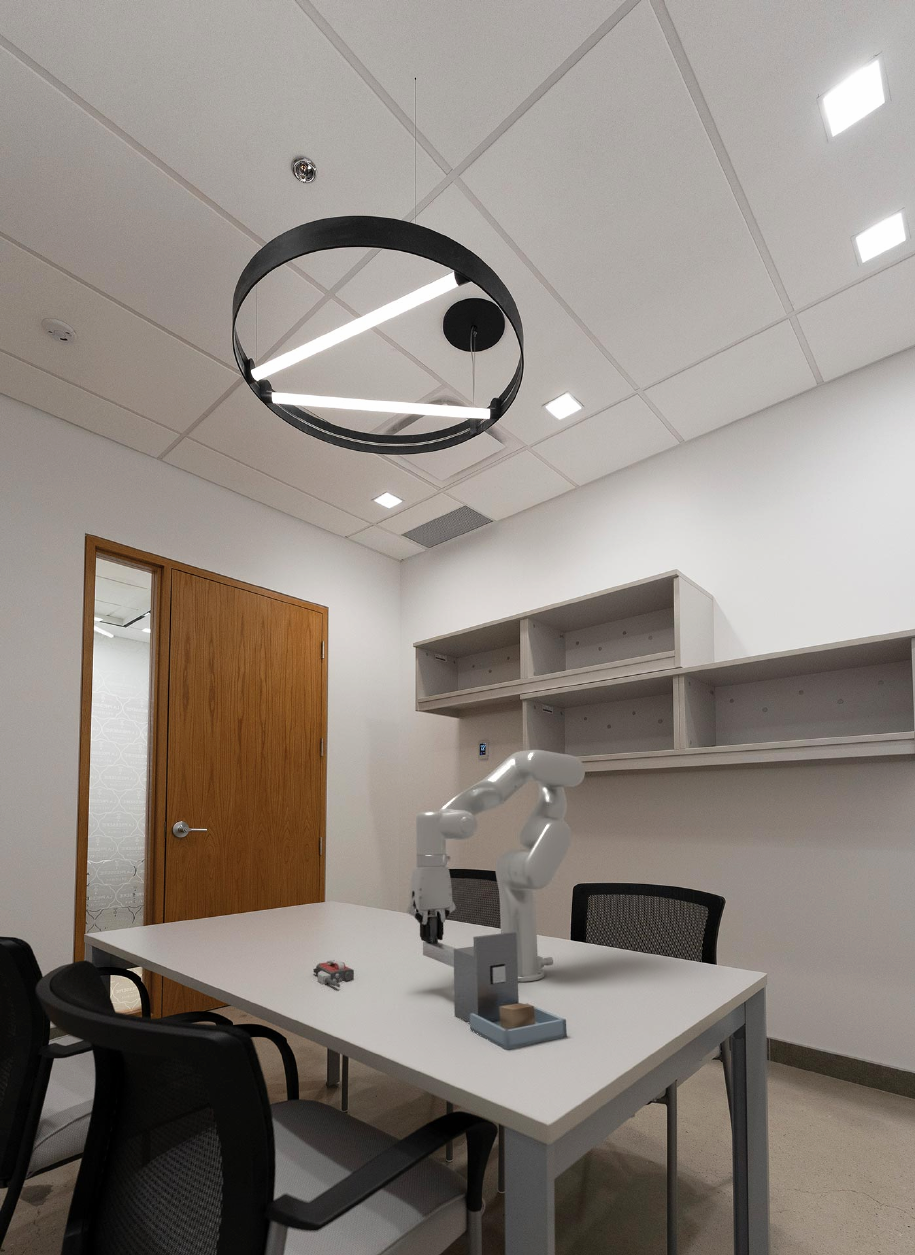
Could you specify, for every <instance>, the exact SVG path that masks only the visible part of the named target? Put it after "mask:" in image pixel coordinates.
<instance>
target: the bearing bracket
mask: <svg viewBox="0 0 915 1255" xmlns="http://www.w3.org/2000/svg"><path fill="white" fill-rule="evenodd" d="M472 939H473V946H466V947H460V948H456V949H454V967H453V983H454V984H453V991H454V992H453V996H454V997H453V998H454V999H453V1001H454V1002H453V1003H454V1006H453V1009H454V1017H456V1016H457V1017H456V1018H458V1019H460V1018H461V1019H460V1020H462V1019H463V1020H465V1021H468V1022H469V1023H470V1014H472V1013H474V1014H476V1015H478V1016H480V1017H482V1018H484V1019H486V1020H488V1021H490V1022H492V1023H493V1022H498V1021H500V1011H499V1007H501V1006H506V1005H512V1004H517V1003H520V1002H519V1000H520V999H519V998H520V997H519V982H518V966H517V935H516V932H508V933H501V932H500V933H493V934H485V935H478V936H473V938H472ZM500 964H501V965H504V966H505V980H506V982H500V983H494V984H493V983H491V979H490V966H493V965H500ZM463 1020H462V1021H463ZM465 1021H464V1022H465ZM469 1023H468V1024H469Z"/></svg>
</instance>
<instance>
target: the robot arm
mask: <svg viewBox="0 0 915 1255" xmlns="http://www.w3.org/2000/svg"><path fill="white" fill-rule="evenodd" d="M585 773H586V768H585V766H584V763H583V762H582V760H580V758H578V757H576V756H574V755H571V754H566V753H559V752H554V751H547V750H542V749H530V750H529V749H528V750H520V751H516V752H514V753H512V754H510V756H508V757H507V758H506V759H505V760H504V761H503V762H502V763H501V764H499V765H498V766H496V768H495V769H494V770H492V771H491V772H490V773H489V774H488V775H487V776H486V777H484V778H483V779H481V780H480V781H478V782H476V783H475V784H473V785H472V786H470V787H469V788H467V789H465V790H463V791H462V792H460V793H458V794H457V795H455V796H454V797H453V798H452V799H450V800H449V801H448V802H447V803H445V805H444V806H442V807H441V808H440V809H439V810H438V811H435V810H434V811H431V810H429V811H420V812H419V813H417V815H416V820H415V822H416V827H415V829H416V830H415V831H416V834H415V838H416V840H415V841H416V844H415V845H416V846H415V847H416V856H415V857H416V859H415V860H416V861H415V862H416V863H415V864H416V865H415V866H416V867H413V868H412V873H411V877H410V878H411V879H410V887H409V905H408V907H407V909H406V914H408V915H410V916H412V917H413V918H414V919H415V920H416V921H417V923H419V936H420V939H421V941H423V942H428V941H429V924H427V916H429V914H428V912H429V911H435V916H438V941H443V938H444V937H443V936H444V932H445V931H444V923H445V922H446V919H447V918H448V917H449V915H450V914H451V913H452V912H453V911H455V910H456V907H457V906H456V905H455V902H454V900H453V888H452V881H451V874H450V869H449V866H447V863H449V862H451V856H450V855H448V854H447V840H456V841H457V840H458V841H465V840H466V841H467V840H468V839H471V838H472V837H473V836H474V835H475V833H476V832H477V830H478V820H477V818H476V817H475V816H477V815H479V814H480V813H483V812H484V813H485V812H487V811H490V810H492V809H496V808H498V807H500V806H502V805H504V804H505V803H507V801H508V800H510V799H511V798H512V797H513V796H514V795H515V794H516V793H517V792H519V790H520V789H521V788H523V787H524V786H525V785H526V784H527V783H529V782H536V783H537V786H538V792H539V793H538V799H537V801H536V802H535V805H534V807H533V809H532V811H530V813H529V815H528V817H527V819H526V821H524V823H523V825H522V827H521V828H520V832H519V836H518V838H519V840H518V841H519V844H520V845H521V847H522V848H524V849H518V848H515V849H513V848H512V849H507V850H505V851H503V852H502V853H501V854H500V855H499V856H498V858H497V859H496V863H495V876H496V882H497V887H498V892H499V910H500V911H499V912H500V913H499V914H500V915H499V916H500V918H499V919H500V933H508V932H516V935H517V966H518V983H519V982H521V983H522V982H524V983H525V982H533V981H540V980H541V979H544V977H545V970H543V968H544V967H545V966H547V967H548V966H552V965H554V958H553V957H552V956H550V957H549V956H548V957H543V956H539V955H538V952H539V951H538V932H537V930H538V929H537V926H538V925H537V904H536V897H535V894H534V891H535V890H536V891H538V890H542V889H545V888H546V887H547V886H548V885H550V883H551V881H552V880H553V879H554V877H555V875H556V873H557V872H558V870H559V868H560V866H561V864H562V863H563V861H564V859H565V858H566V856H567V854H568V851H569V850H570V847H571V843H572V831H571V828H570V826H569V825H568V823H567V822H566V821H565V820H564V818H565V816H566V813H567V811H568V802H567V797H566V796H567V795H566V792H565V789H564V788H571V787H572V788H573V787H576V786H579V785H580V784H582V781H583V780H584V779H585V775H586V774H585ZM417 911H418V912H417Z"/></svg>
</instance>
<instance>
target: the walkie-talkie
mask: <svg viewBox="0 0 915 1255" xmlns="http://www.w3.org/2000/svg"><path fill="white" fill-rule="evenodd" d="M315 967H316V968H313V973H314V974H315V976H316V977H317V982H318V983H320V982H321V985H327V983H328V984H329V985H331V986H333V987H336V988H340V987H341V984H340V983H343V982H342V981H345V982H350V981H349V980H351V981H354V978H355V977H354V976H355V974H354V973H355V969H353V968H351V967H349V966H347V965H346V963H345V962H342V961H341V960H335V959H333V960H327V961H326V962H319V963H318V964H316V966H315ZM337 982H338V983H337Z"/></svg>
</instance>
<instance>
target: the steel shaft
mask: <svg viewBox="0 0 915 1255" xmlns="http://www.w3.org/2000/svg"><path fill="white" fill-rule="evenodd" d="M427 924H429V941H428V942H425V941H423V942H422V956H425V957H427V958H430V959H432V960H435V961H437V962H439V963H442V964H445V965H447V966H449V967H452V968H454V949H457V948H456V947H454V946H450V945H448V944H445V943H442V942H439V940H438V916H436V915H428V916H427ZM490 979H491V983H493V984H494V983H500V982H506V980H505V966H504V965H501V964H500V965H493V966H490Z"/></svg>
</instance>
